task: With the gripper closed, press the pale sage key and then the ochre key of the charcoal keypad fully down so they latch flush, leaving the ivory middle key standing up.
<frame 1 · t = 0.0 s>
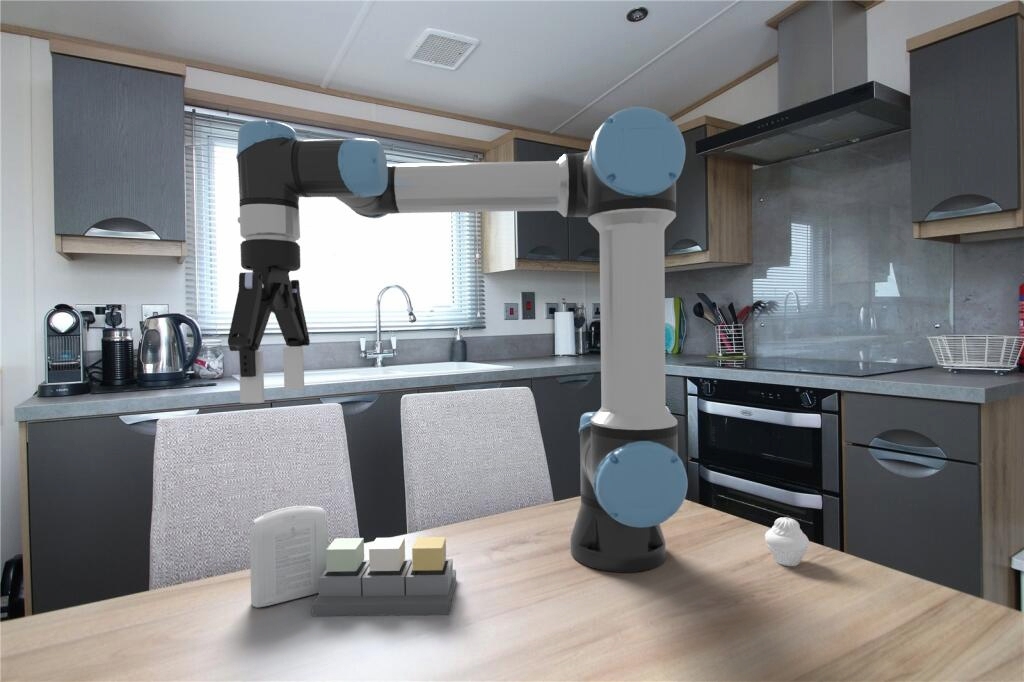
hand: (275, 396, 79), 28 cm above the table, fingers open, 13 cm apart
muffin: (786, 563, 88), on the table
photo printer: (291, 597, 80), on the table
keypad: (388, 596, 79), on the table
key ivory: (387, 553, 79), point 6 cm above the table, slide at 0.0 cm
key sage: (345, 554, 79), point 6 cm above the table, slide at 0.0 cm
key ochre: (429, 553, 79), point 6 cm above the table, slide at 0.0 cm
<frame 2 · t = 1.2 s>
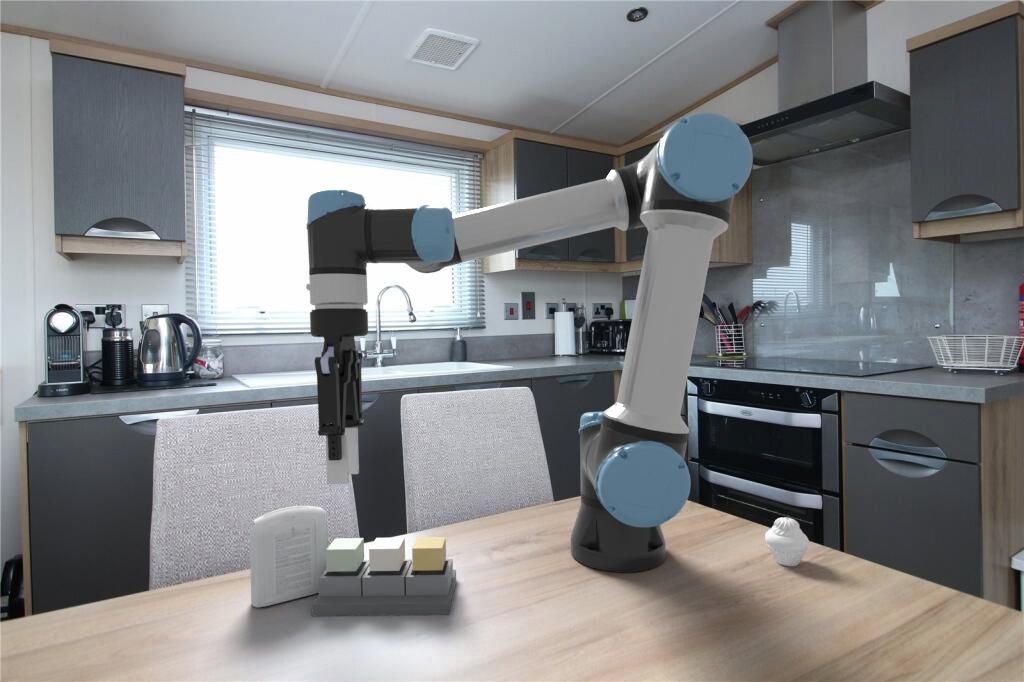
hand: (343, 477, 79), 17 cm above the table, fingers open, 4 cm apart
nothing on the table moved.
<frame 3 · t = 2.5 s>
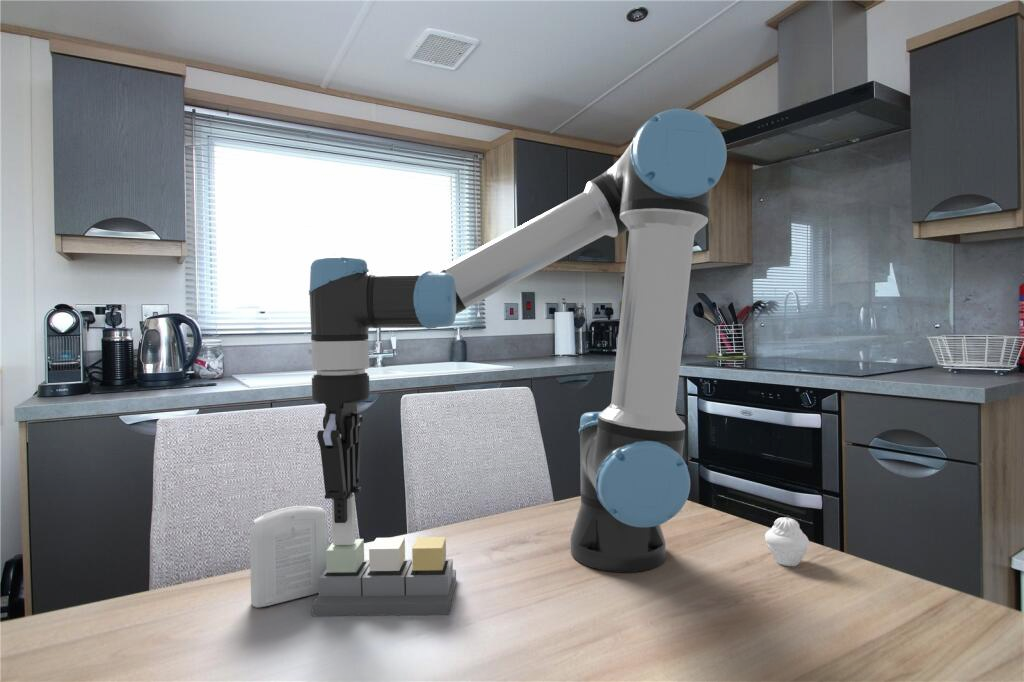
hand: (344, 542, 79), 8 cm above the table, fingers closed
key sage: (345, 555, 79), point 6 cm above the table, slide at 0.1 cm, touching gripper
everything else where it was.
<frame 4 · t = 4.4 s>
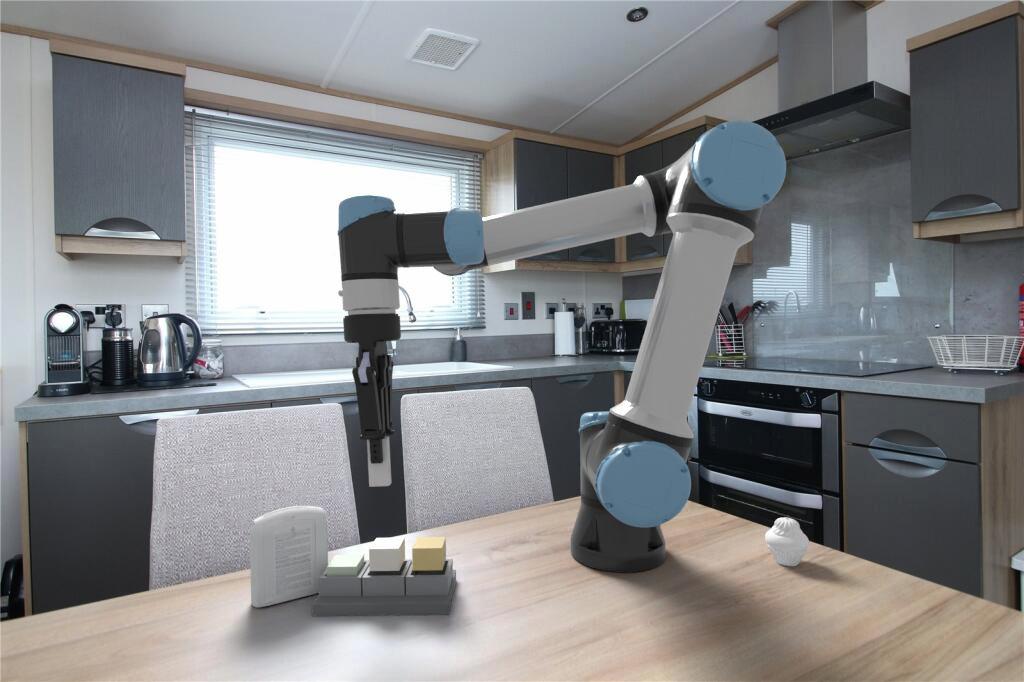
hand: (380, 484, 79), 16 cm above the table, fingers closed
key sage: (346, 571, 79), point 4 cm above the table, slide at 2.4 cm
everything else where it was.
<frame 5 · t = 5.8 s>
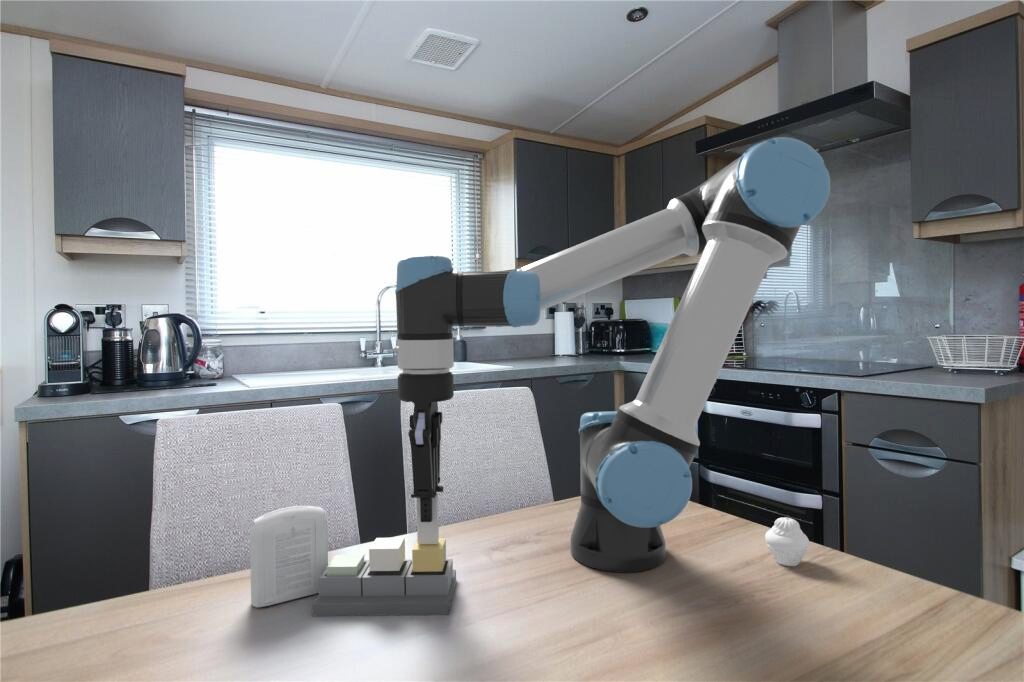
hand: (428, 541, 79), 8 cm above the table, fingers closed
key ochre: (429, 554, 79), point 6 cm above the table, slide at 0.2 cm, touching gripper
everything else where it was.
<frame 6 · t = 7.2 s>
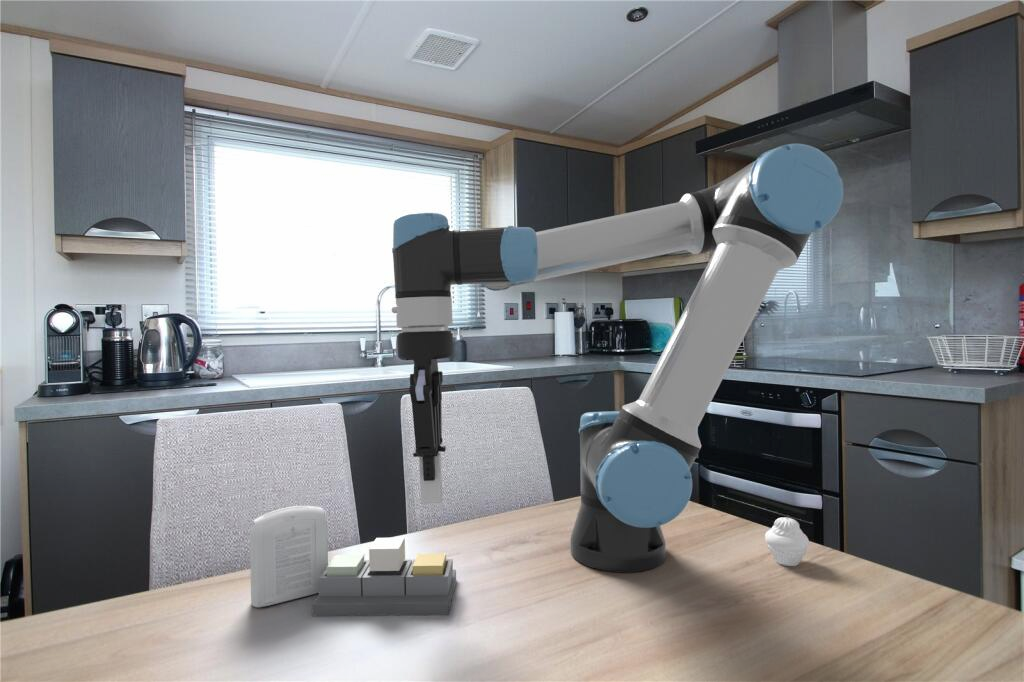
hand: (431, 501, 79), 13 cm above the table, fingers closed
key ochre: (429, 570, 79), point 4 cm above the table, slide at 2.4 cm
everything else where it was.
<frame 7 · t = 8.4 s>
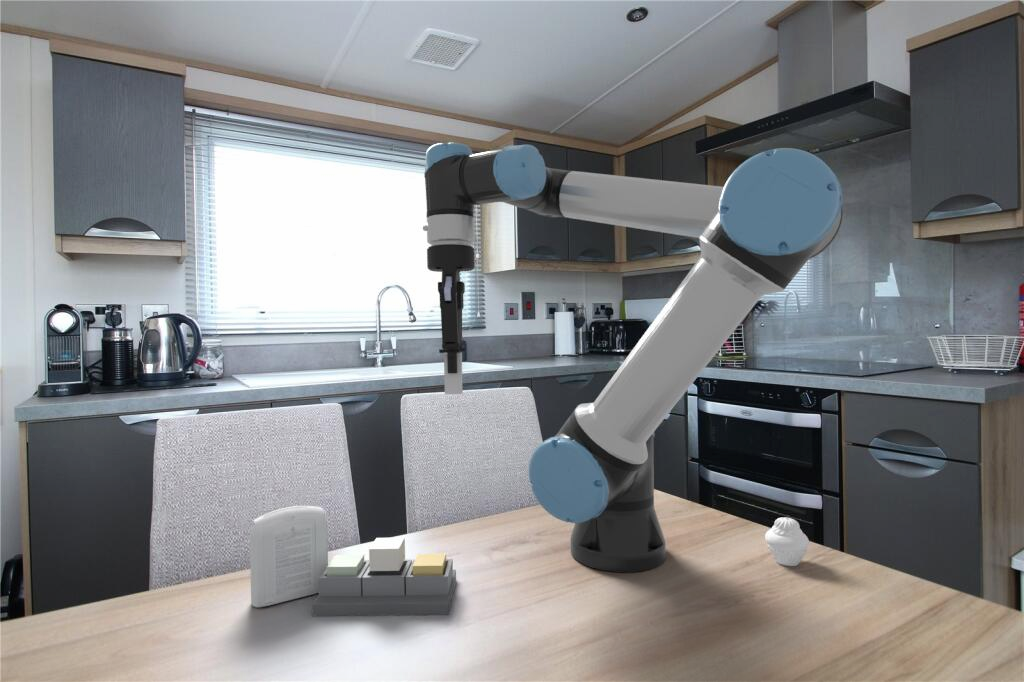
hand: (453, 393, 92), 26 cm above the table, fingers closed
nothing on the table moved.
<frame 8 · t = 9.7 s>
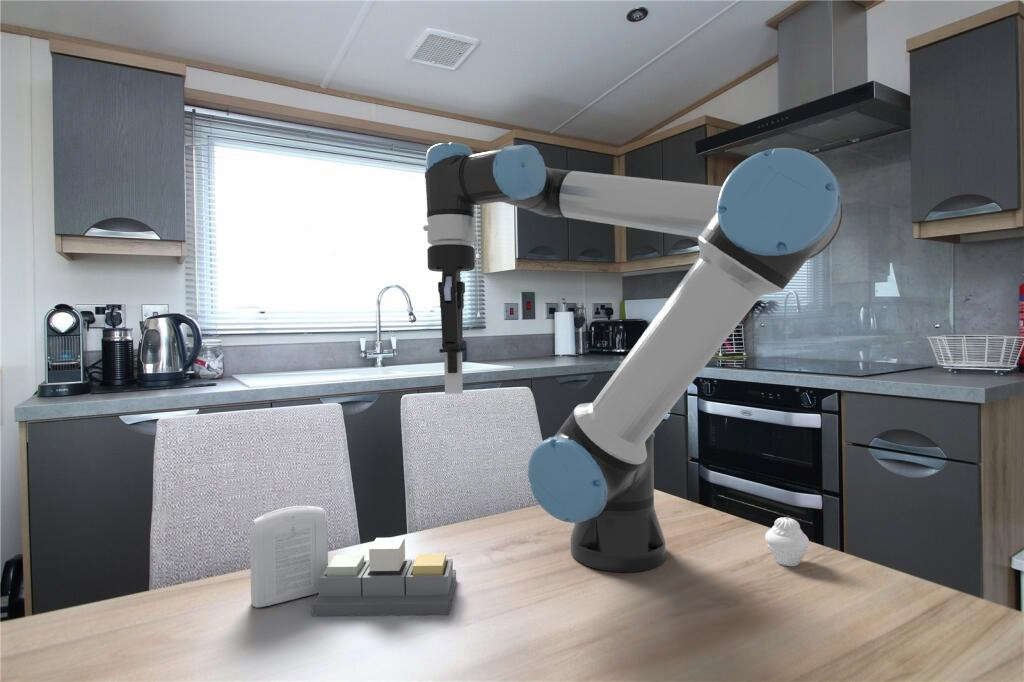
hand: (453, 392, 92), 26 cm above the table, fingers closed
nothing on the table moved.
at the end: key sage slide at 2.4 cm; key ochre slide at 2.4 cm; key ivory slide at 0.0 cm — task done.
